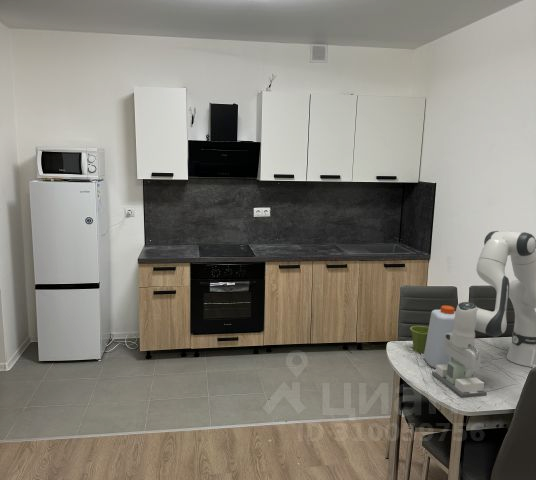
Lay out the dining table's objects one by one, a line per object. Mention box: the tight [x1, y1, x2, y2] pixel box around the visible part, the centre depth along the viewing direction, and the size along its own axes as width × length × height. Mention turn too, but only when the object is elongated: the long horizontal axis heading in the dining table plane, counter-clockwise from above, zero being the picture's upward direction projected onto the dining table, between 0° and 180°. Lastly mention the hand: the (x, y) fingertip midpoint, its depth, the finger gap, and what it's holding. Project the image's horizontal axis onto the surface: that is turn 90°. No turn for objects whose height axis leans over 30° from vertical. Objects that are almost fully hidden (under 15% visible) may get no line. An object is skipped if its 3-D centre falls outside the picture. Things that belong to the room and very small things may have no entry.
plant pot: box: [409, 325, 429, 354], centre depth 240 cm, size 12×12×11 cm
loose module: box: [446, 361, 473, 384], centre depth 204 cm, size 9×4×8 cm, turn 104°
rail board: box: [431, 364, 488, 399], centre depth 204 cm, size 12×21×5 cm, turn 14°
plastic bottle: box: [423, 305, 457, 369], centre depth 224 cm, size 15×15×28 cm
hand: (459, 371), depth 204 cm, fingers open, 8 cm apart
